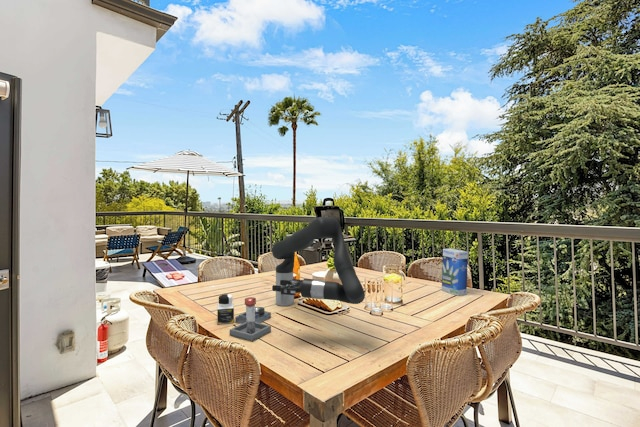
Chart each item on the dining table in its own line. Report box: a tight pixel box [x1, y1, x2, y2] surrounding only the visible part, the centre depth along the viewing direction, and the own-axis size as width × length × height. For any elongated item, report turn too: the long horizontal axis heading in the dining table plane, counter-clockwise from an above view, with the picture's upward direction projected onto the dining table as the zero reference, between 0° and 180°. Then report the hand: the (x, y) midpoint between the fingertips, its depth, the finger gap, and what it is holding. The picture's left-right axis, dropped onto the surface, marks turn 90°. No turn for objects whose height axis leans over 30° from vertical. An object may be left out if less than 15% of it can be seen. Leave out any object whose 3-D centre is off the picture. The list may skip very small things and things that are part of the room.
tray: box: [229, 322, 272, 343], centre depth 145 cm, size 12×12×2 cm
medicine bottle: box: [216, 293, 235, 325], centre depth 159 cm, size 7×7×12 cm
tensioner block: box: [234, 306, 272, 325], centre depth 161 cm, size 13×10×5 cm
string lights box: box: [441, 247, 469, 297], centre depth 209 cm, size 13×8×26 cm, turn 25°
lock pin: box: [244, 296, 257, 334], centre depth 145 cm, size 5×5×14 cm
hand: (276, 285), depth 143 cm, fingers open, 8 cm apart
